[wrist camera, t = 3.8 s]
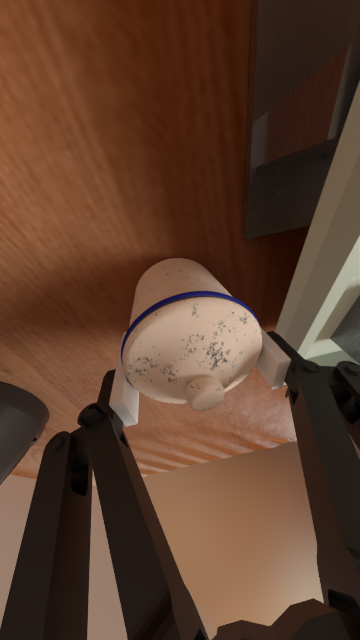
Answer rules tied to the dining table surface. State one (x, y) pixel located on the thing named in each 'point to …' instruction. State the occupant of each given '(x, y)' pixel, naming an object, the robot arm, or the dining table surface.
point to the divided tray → (328, 257)
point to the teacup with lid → (188, 336)
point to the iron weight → (349, 332)
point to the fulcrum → (296, 106)
